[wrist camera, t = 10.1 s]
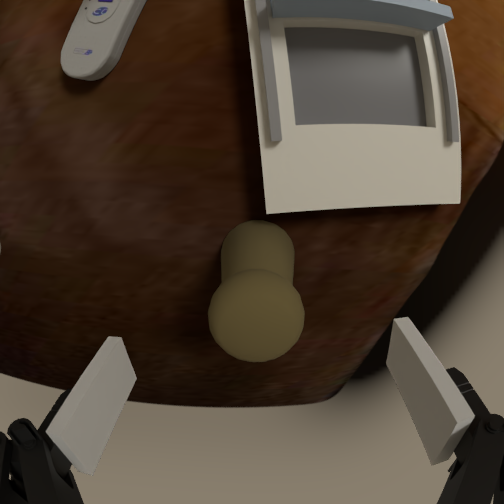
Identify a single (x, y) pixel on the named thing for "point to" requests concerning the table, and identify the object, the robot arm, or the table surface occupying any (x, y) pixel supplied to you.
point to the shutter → (368, 11)
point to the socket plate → (353, 112)
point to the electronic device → (98, 37)
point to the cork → (256, 294)
